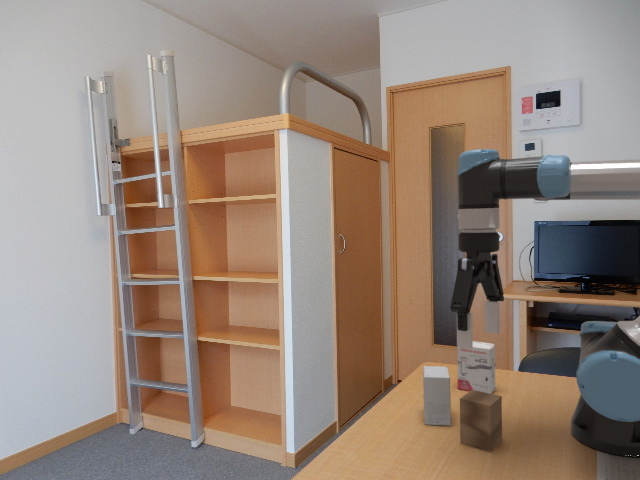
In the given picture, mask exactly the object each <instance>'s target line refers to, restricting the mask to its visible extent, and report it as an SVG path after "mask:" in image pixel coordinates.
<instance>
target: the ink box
mask: <svg viewBox="0 0 640 480" xmlns="http://www.w3.org/2000/svg"><path fill="white" fill-rule="evenodd" d="M457 389H458V390H463V391H468V392H470V391H471V390H476V391H481V392H485V393H490V394H493V393H494V391H495V390H496V345H495V344H494V343H491V342H490V343H489V342H482V341H474V340H473V348H472V349H468V348H462V347H457Z"/></svg>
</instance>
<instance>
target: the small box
mask: <svg viewBox="0 0 640 480" xmlns="http://www.w3.org/2000/svg"><path fill="white" fill-rule="evenodd" d="M422 366H423V365H422ZM422 381H423V382H422V383H423V385H422V386H423V414H424V424H425V425H430V426H431V425H432V426H449V427H450V426H451V425H452V409H451V407H452V405H451V399H452V398H451V375H450V373H449V369H448V366H438V365H437V366H434V365H433V366H432V365H430V366H429V365H424V366H423V367H422Z"/></svg>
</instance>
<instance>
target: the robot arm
mask: <svg viewBox="0 0 640 480" xmlns="http://www.w3.org/2000/svg"><path fill="white" fill-rule="evenodd" d="M457 169H458V170H457V175H456V176H457V177H456V178H457V191H458V192H457V195H458V196H457V197H458V199H457V200H458V201H457V202H458V206H457V207H458V214H456V219H458V229H459V230H461V232H459V234H458V241H457V242H458V250H459V251H460V252H463V253H465V254H466V255H465V258H463V257H460V258H458V260H457V273H456V277H455V281H454V286H453V287H454V288H453V293H452V297H451V301H450V302H451V303H450V307H449V308H450V311H451V312H452V313H456V348H458V347H462V348H468V349H472V348H473V341H474V340H473V338H474V337H473V336H474V335H473V334H474V333H473V332H474V331H473V326H474V325H473V312H471V309H472V306H473V302H474V299H475V296H476V292H477V290H478V285H479V284H481V287H482V289H483V292H484V295H485V297H486V300H485V301H484V332H485V333H488V334H495V335H498V334H500V302H504V300H505V296H504V289H503V284H502V279H501V275H500V274H501V273H500V267H499V260H498V258H499V256H498V253H496V252H498V251H499V250H500V233H499V232H498V231H497V230H499V229H500V227H501V226H500V220H501V219H500V200H529V199H533V200H534V201H537V202H538V201H539V202H542V201H543V202H546V201H563V200H564V201H571V200H572V201H574V200H575V201H578V200H580V201H581V200H583V201H584V200H587V201H588V200H589V201H591V200H593V201H595V200H596V201H597V200H599V201H601V200H602V201H603V200H604V201H605V200H611V201H612V200H616V201H617V200H620V201H621V200H622V201H623V200H625V201H626V200H629V201H631V200H633V201H635V200H637V201H638V200H639V201H640V158H639V159H617V160H616V159H615V160H614V159H613V160H593V161H571V158H570V157H569V156H567V155H564V154H563V155H560V154H559V155H552V154H546V155H542V156H531V157H520V158H505V159H504V158H501V157H500V154H499V150H497V149H492V148H485V149H480V148H477V149H471V150H466V151H465V150H464V151H463V152H462V153H461V154H460V155H459V157H458V168H457ZM579 337H580V355H579V360H578V366H577V369H576V373H575V377H576V384H577V387H578V390H579V393H580V396H579V398H578V401H577V404H576V406H575V409H574V412H573V414H572V417H571V420H570V426H571V427H570V432H571V434H572V437H574V438H575V439H576V440H577V441H578V442H581V443H582V444H583V445H585V446H587V447H590V448H592V449H595V450H597V451H601V452H604V453H607V454H612V455H615V454H616V456H621V455H627V456H626V457H629V456H630V455H631V456H637V455H639V456H640V315H638V317H637V318H636V319H634V320H619V321H617V322H616V321H605V320H603V321H602V320H590V321H589V320H588V321H584V322H583V323H581V326H580V332H579ZM628 455H629V456H628Z"/></svg>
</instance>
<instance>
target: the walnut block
mask: <svg viewBox="0 0 640 480" xmlns="http://www.w3.org/2000/svg"><path fill="white" fill-rule="evenodd" d="M502 399H503V397H502V395H497V394H494V393H491V394H490V393H485V392H481V391H476V390H471V391H468V392H466V394H464V395H462V396H461V397H460V398H459V436H460V439H459V441H460V442H459V443H460V444H461V445H464V446H467V447H470V448H474V449H478V450H480V451H483V452H487V453H492V452H493V451H494V450H496V448H497V447H498V446H499V444H500V443H501V442H502V441H503V415H502V413H503V406H502V405H503V404H502V403H503V402H502Z"/></svg>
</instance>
